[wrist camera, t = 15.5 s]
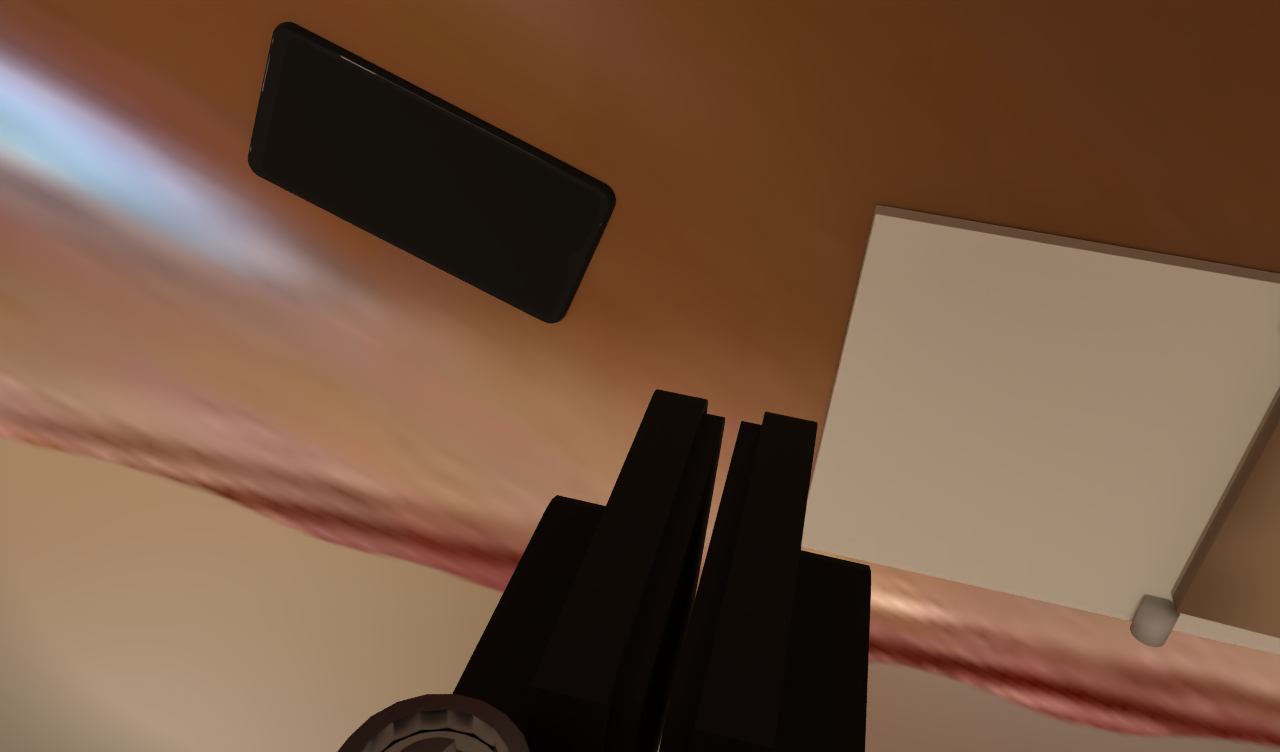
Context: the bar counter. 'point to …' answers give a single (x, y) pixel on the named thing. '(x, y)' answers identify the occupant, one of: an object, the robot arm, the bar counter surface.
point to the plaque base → (1042, 414)
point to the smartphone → (425, 174)
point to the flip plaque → (1241, 543)
